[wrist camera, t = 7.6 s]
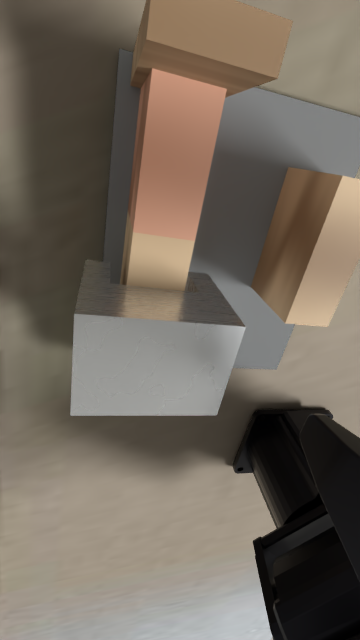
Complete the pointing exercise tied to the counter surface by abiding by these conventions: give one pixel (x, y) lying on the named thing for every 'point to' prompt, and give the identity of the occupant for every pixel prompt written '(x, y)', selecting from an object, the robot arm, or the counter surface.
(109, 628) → the counter surface
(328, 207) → the block
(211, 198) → the mat
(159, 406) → the rough concrete cube
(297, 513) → the robot arm
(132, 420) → the counter surface
